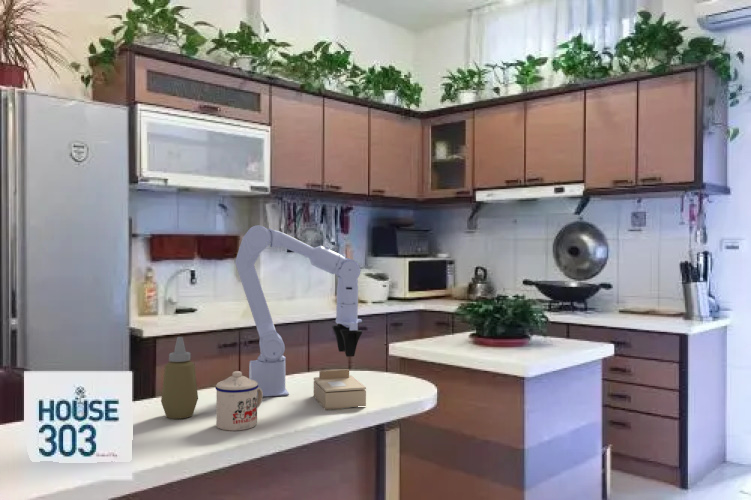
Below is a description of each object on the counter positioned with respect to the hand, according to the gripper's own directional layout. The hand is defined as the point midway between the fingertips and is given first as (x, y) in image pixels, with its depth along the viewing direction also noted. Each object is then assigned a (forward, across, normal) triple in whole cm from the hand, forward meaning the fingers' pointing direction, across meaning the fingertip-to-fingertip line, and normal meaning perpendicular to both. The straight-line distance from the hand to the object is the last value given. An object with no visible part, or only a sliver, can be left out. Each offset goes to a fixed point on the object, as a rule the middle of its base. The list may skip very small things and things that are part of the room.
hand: (346, 353), depth 170 cm
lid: (+5, -11, +5) cm, 13 cm away
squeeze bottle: (+10, -14, +43) cm, 46 cm away
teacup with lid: (+10, -24, +30) cm, 40 cm away
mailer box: (+10, -11, +5) cm, 16 cm away
